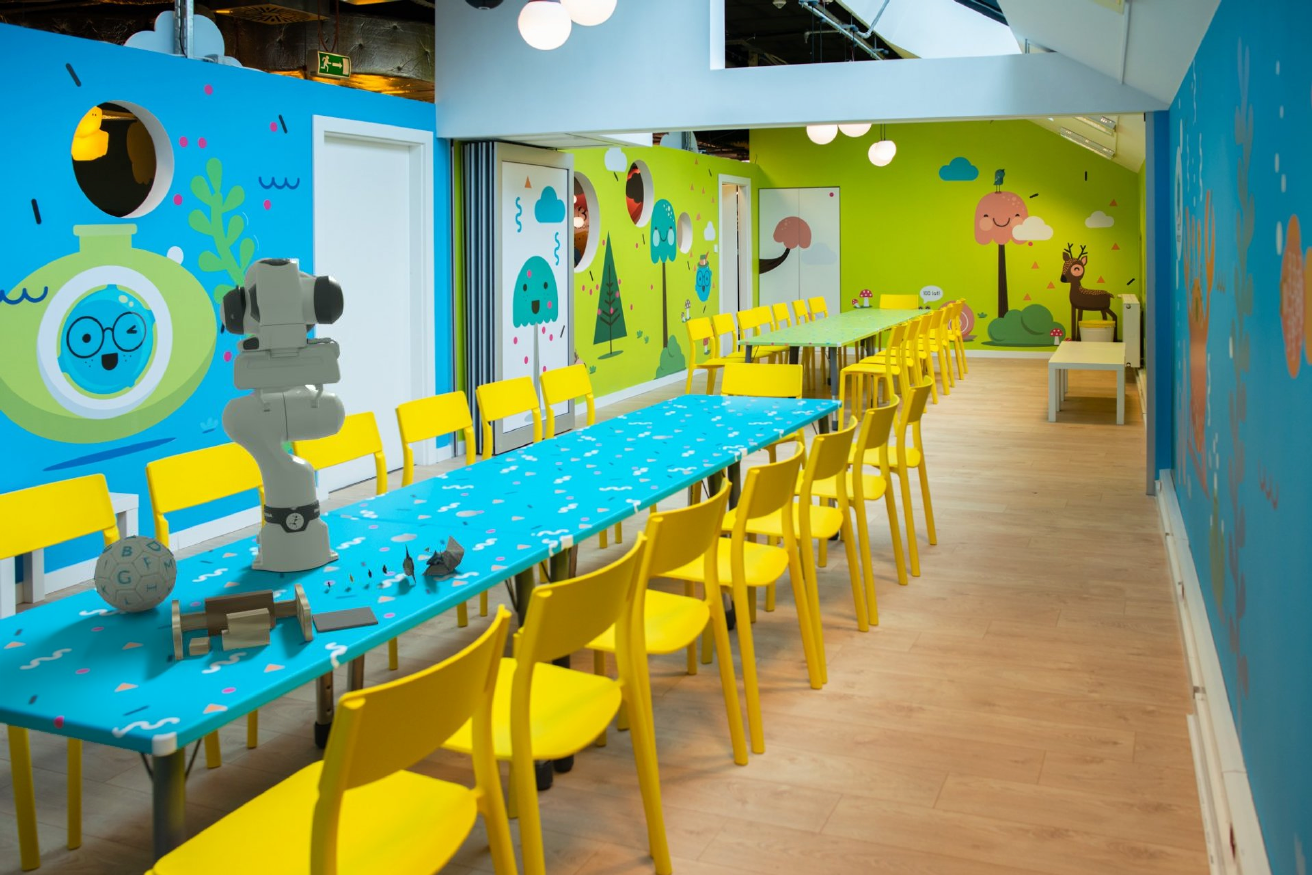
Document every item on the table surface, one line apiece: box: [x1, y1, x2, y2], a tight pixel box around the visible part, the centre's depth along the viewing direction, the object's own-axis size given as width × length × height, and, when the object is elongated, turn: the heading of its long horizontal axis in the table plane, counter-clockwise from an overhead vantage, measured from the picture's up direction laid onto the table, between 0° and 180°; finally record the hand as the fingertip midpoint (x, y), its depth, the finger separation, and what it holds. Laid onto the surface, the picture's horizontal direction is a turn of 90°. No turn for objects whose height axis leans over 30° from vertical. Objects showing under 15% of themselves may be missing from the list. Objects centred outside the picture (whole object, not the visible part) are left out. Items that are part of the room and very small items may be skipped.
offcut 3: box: [221, 629, 271, 651], centre depth 207 cm, size 3×8×3 cm, turn 112°
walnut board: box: [204, 589, 277, 638], centre depth 214 cm, size 2×12×7 cm, turn 113°
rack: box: [171, 583, 314, 661], centre depth 212 cm, size 17×23×6 cm
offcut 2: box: [226, 608, 272, 635], centre depth 207 cm, size 3×7×3 cm, turn 117°
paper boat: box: [421, 534, 466, 576], centre depth 252 cm, size 12×6×9 cm
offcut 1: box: [188, 636, 211, 656], centre depth 205 cm, size 4×3×2 cm
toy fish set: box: [327, 545, 449, 589], centre depth 241 cm, size 11×25×9 cm, turn 118°
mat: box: [311, 606, 379, 633], centre depth 220 cm, size 10×11×1 cm
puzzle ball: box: [93, 534, 178, 613], centre depth 227 cm, size 15×15×15 cm
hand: (290, 409), depth 228 cm, fingers open, 8 cm apart
